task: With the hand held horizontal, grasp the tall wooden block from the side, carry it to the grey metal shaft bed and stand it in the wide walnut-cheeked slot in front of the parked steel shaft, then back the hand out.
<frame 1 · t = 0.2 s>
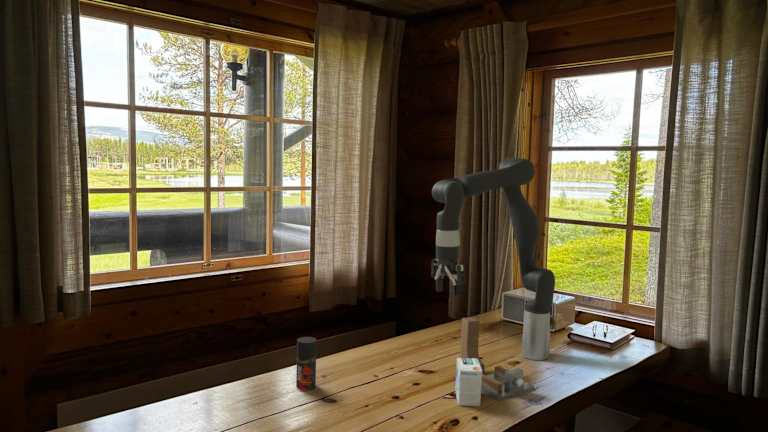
hand: (447, 293, 177), 29 cm above the table, tool pointing down, fingers open, 8 cm apart
deodorant: (305, 387, 171), on the table
wooden block: (471, 373, 186), on the table
light bulb box: (467, 399, 166), on the table
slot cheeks: (500, 386, 176), resting on shaft bed
shaft bed: (500, 386, 176), on the table
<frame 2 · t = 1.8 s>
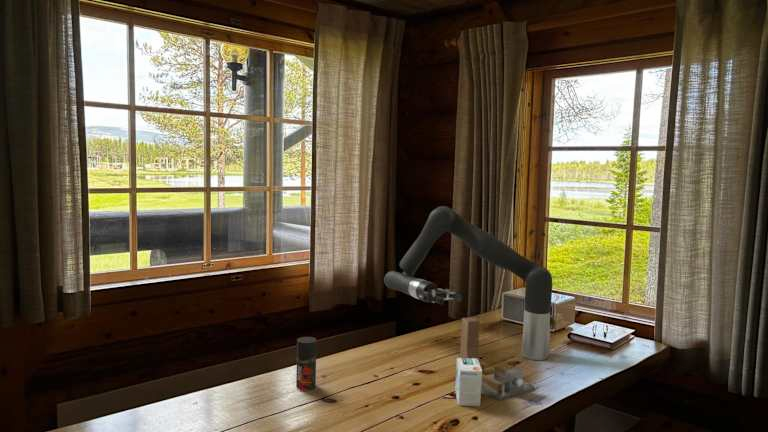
hand: (452, 300, 193), 23 cm above the table, tool horizontal, fingers open, 8 cm apart
nothing on the table moved.
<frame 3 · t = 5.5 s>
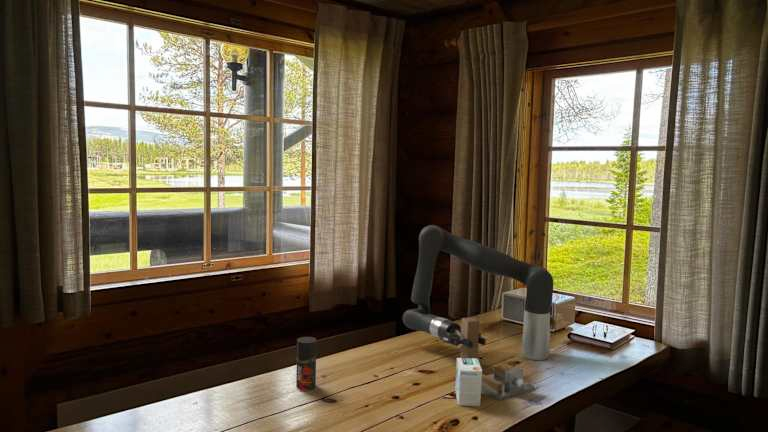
hand: (478, 343, 183), 11 cm above the table, tool horizontal, fingers open, 5 cm apart
wooden block: (471, 373, 186), on the table, touching gripper
everything else where it was.
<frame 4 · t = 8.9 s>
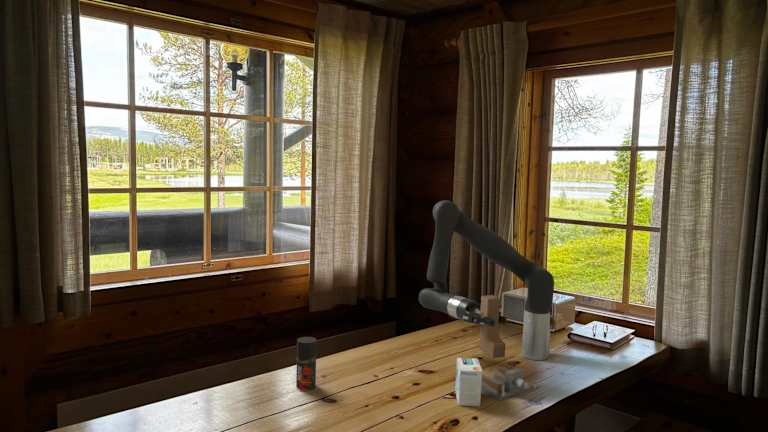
hand: (500, 322, 175), 21 cm above the table, tool horizontal, fingers closed on wooden block, 4 cm apart
wooden block: (491, 353, 178), point 10 cm above the table, touching gripper
everything else where it was.
when the fingers open (12 cm above the table, at t = 12.1 s): wooden block stays where it is, resting on shaft bed.
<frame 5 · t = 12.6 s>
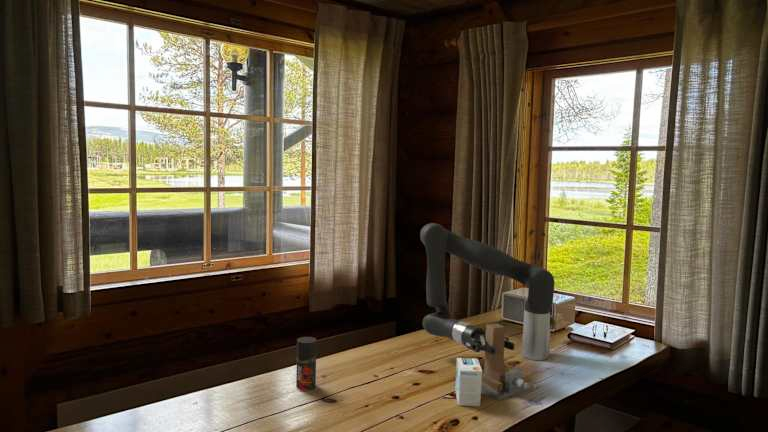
hand: (504, 349, 174), 13 cm above the table, tool horizontal, fingers open, 8 cm apart
wooden block: (496, 383, 177), point 1 cm above the table, touching shaft bed
everything else where it was.
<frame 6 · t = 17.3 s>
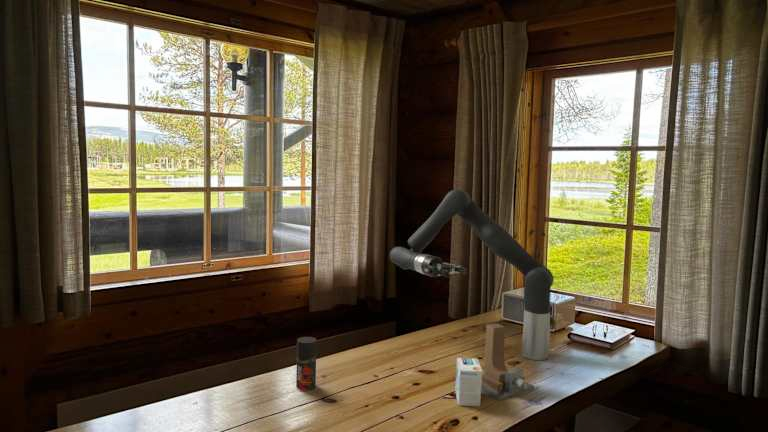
hand: (457, 273, 193), 32 cm above the table, tool horizontal, fingers open, 8 cm apart
nothing on the table moved.
at the end: wooden block inside the target area (0.5 cm from its centre), point 0.8 cm above the table; wooden block tilted 0°; the gripper is holding nothing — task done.
